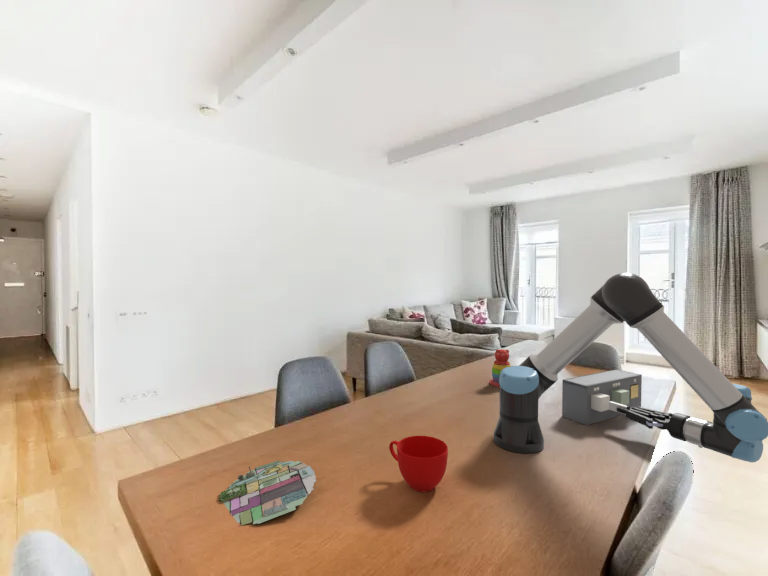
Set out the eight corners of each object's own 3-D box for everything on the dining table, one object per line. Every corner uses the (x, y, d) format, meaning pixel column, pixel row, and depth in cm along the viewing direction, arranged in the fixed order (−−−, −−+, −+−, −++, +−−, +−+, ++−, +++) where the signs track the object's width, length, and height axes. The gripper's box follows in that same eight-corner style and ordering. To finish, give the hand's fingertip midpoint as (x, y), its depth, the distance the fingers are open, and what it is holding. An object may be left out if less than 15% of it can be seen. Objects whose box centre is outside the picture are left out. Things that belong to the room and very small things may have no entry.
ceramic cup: (404, 462, 108) (404, 427, 108) (457, 482, 97) (457, 444, 97) (374, 481, 98) (374, 443, 98) (430, 506, 87) (430, 463, 87)
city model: (199, 502, 93) (196, 479, 92) (284, 458, 109) (281, 438, 109) (245, 556, 75) (241, 529, 75) (337, 495, 92) (335, 471, 91)
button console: (641, 409, 150) (642, 374, 150) (587, 425, 135) (588, 386, 134) (615, 402, 159) (616, 369, 159) (562, 416, 144) (562, 379, 143)
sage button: (629, 404, 141) (629, 390, 140) (621, 406, 138) (621, 392, 138) (613, 399, 146) (613, 386, 146) (605, 401, 144) (605, 388, 143)
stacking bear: (510, 382, 189) (510, 347, 189) (515, 388, 179) (515, 351, 179) (488, 382, 190) (488, 347, 190) (492, 388, 180) (492, 351, 180)
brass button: (638, 396, 149) (638, 384, 149) (630, 398, 147) (630, 386, 147) (622, 392, 154) (622, 380, 154) (615, 394, 152) (615, 382, 152)
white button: (609, 409, 135) (609, 395, 135) (600, 411, 133) (601, 397, 133) (593, 404, 140) (593, 391, 140) (584, 406, 138) (585, 393, 138)
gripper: (677, 446, 109) (598, 419, 130) (699, 437, 115) (620, 412, 136) (677, 420, 108) (598, 397, 129) (700, 412, 114) (621, 392, 135)
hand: (609, 405), depth 132 cm, fingers closed
